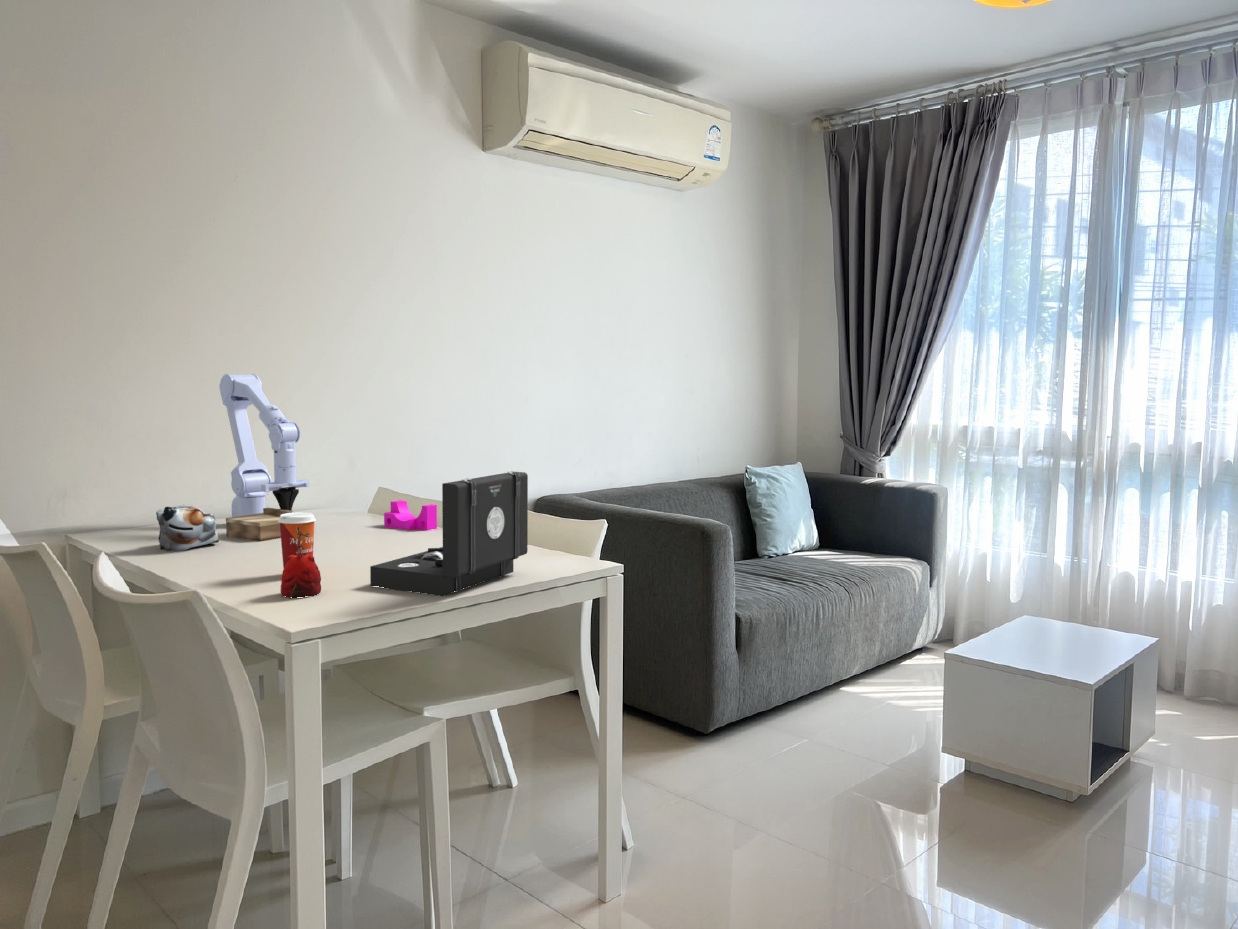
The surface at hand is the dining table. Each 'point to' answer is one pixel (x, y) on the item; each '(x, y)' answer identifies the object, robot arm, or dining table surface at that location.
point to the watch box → (467, 538)
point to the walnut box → (253, 531)
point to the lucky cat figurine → (185, 528)
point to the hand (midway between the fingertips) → (286, 515)
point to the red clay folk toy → (300, 574)
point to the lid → (260, 518)
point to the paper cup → (290, 537)
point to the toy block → (410, 517)
